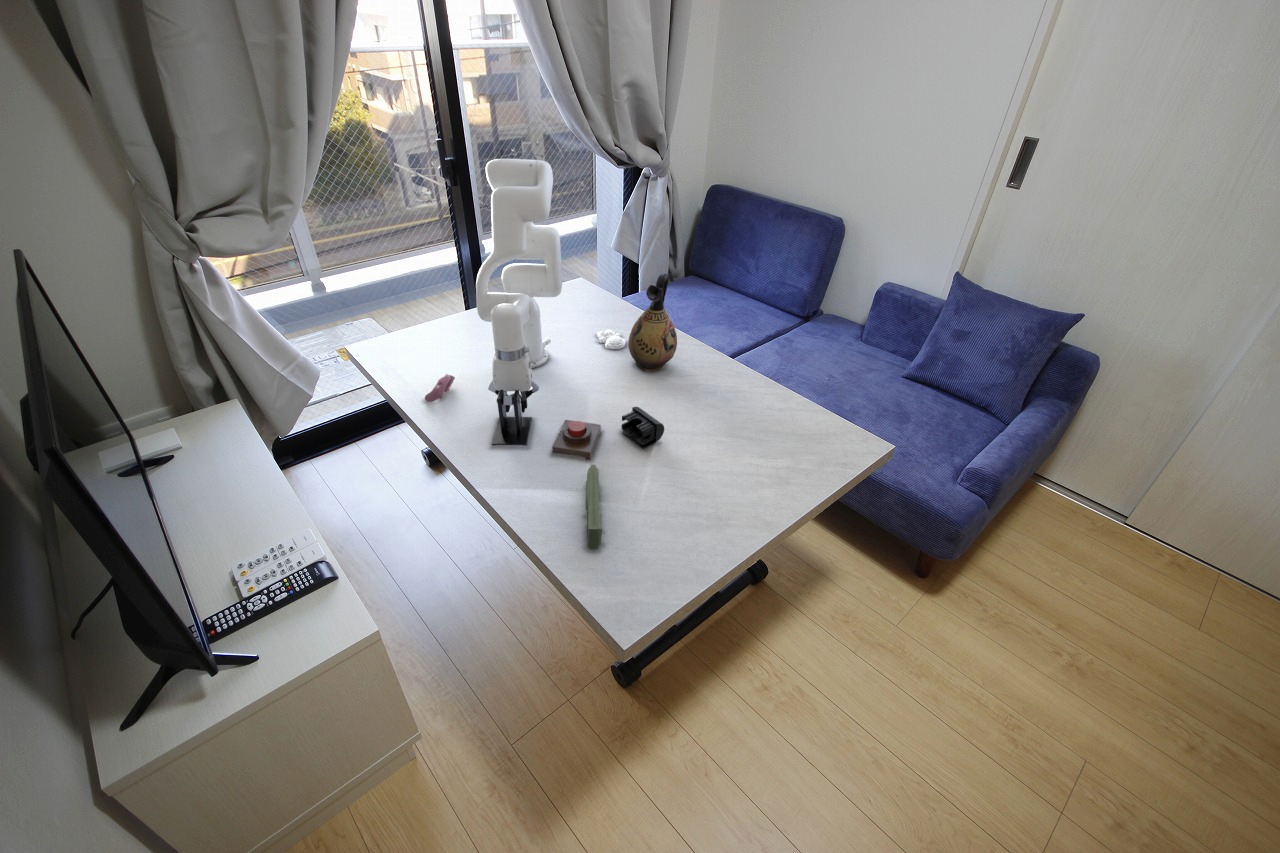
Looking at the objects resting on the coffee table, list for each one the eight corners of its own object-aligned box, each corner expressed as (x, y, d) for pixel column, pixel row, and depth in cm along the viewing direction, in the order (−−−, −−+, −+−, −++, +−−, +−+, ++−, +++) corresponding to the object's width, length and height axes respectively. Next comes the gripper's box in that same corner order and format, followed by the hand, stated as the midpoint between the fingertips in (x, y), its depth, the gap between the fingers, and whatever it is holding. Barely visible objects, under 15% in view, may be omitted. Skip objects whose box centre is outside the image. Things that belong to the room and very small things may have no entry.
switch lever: (509, 404, 158) (509, 391, 158) (522, 405, 158) (522, 392, 158) (500, 407, 145) (500, 393, 145) (514, 407, 145) (514, 393, 145)
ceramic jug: (666, 381, 177) (674, 291, 158) (620, 370, 181) (622, 282, 162) (682, 356, 190) (691, 270, 171) (639, 346, 193) (643, 261, 175)
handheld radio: (585, 549, 123) (585, 471, 142) (600, 549, 123) (598, 472, 143) (586, 528, 119) (586, 451, 138) (602, 528, 119) (599, 451, 139)
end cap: (663, 440, 154) (665, 420, 150) (644, 450, 150) (645, 430, 146) (639, 422, 159) (640, 403, 155) (620, 432, 156) (620, 412, 152)
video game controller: (437, 408, 163) (443, 392, 159) (422, 400, 162) (428, 384, 158) (452, 390, 171) (459, 374, 166) (439, 382, 170) (445, 366, 166)
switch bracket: (499, 420, 158) (494, 381, 150) (532, 420, 158) (528, 381, 150) (492, 447, 148) (486, 407, 140) (526, 447, 149) (522, 408, 141)
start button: (571, 425, 150) (570, 419, 149) (587, 427, 150) (587, 422, 149) (566, 435, 147) (566, 429, 146) (583, 437, 147) (582, 432, 146)
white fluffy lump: (615, 331, 201) (615, 323, 199) (629, 347, 193) (630, 339, 191) (592, 335, 198) (592, 328, 196) (606, 352, 190) (606, 344, 188)
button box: (565, 427, 156) (564, 414, 154) (600, 432, 155) (600, 419, 152) (552, 454, 147) (551, 441, 144) (590, 460, 146) (590, 447, 143)
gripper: (543, 345, 151) (547, 403, 162) (480, 344, 150) (488, 402, 161) (540, 358, 145) (544, 417, 155) (474, 357, 144) (483, 417, 155)
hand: (515, 409), depth 158 cm, fingers closed on switch lever, 3 cm apart
